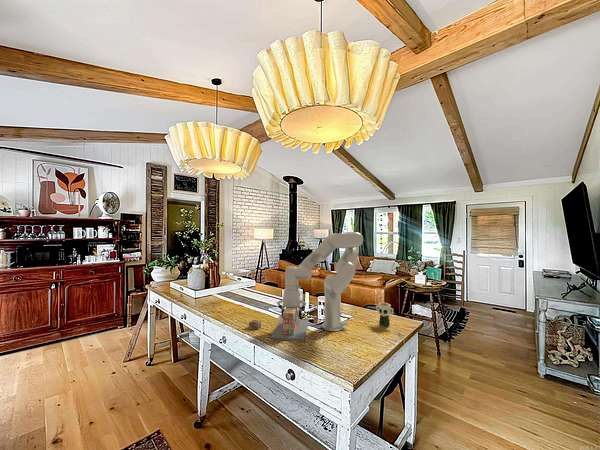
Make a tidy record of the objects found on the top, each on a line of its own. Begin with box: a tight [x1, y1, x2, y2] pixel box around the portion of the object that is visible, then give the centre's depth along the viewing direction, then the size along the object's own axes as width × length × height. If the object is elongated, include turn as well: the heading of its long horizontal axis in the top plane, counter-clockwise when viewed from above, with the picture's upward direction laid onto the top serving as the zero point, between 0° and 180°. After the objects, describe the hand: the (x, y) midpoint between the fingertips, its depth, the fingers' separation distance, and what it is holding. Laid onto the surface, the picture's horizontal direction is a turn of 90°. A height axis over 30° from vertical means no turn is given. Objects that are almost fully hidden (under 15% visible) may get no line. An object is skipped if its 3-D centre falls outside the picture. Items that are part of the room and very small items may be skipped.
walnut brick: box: [248, 319, 262, 330], centre depth 157 cm, size 6×4×4 cm, turn 74°
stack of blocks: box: [282, 307, 300, 335], centre depth 155 cm, size 21×6×12 cm, turn 171°
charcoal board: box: [270, 318, 310, 342], centre depth 154 cm, size 18×28×1 cm, turn 174°
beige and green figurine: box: [375, 302, 394, 327], centre depth 163 cm, size 11×7×13 cm, turn 54°
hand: (291, 316), depth 154 cm, fingers open, 9 cm apart
